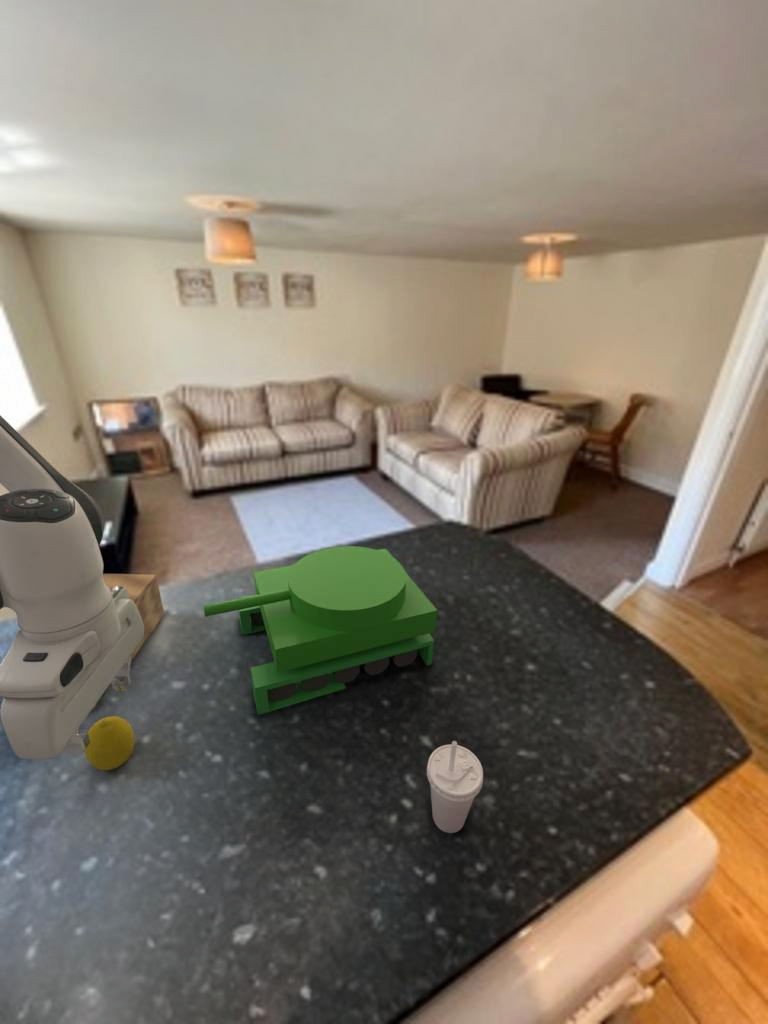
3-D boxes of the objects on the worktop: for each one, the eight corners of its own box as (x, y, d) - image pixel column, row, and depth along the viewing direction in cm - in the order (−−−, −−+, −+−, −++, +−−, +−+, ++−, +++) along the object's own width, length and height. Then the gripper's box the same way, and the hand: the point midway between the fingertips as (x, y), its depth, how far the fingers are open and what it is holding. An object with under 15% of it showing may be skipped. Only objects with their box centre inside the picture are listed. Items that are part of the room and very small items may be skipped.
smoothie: (414, 803, 57) (421, 725, 51) (459, 789, 59) (471, 712, 53) (434, 857, 51) (444, 776, 46) (483, 840, 53) (500, 760, 47)
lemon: (112, 790, 57) (97, 747, 54) (83, 772, 59) (67, 730, 56) (149, 755, 62) (137, 713, 58) (121, 739, 64) (108, 698, 60)
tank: (211, 629, 86) (199, 556, 79) (379, 593, 98) (382, 527, 92) (221, 732, 65) (206, 644, 59) (432, 669, 78) (440, 591, 71)
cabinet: (129, 670, 76) (116, 622, 72) (56, 669, 76) (39, 621, 71) (165, 617, 89) (156, 574, 84) (103, 616, 88) (91, 573, 84)
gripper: (98, 578, 60) (121, 657, 66) (-28, 698, 42) (19, 794, 47) (145, 578, 60) (163, 657, 66) (41, 698, 42) (79, 794, 48)
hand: (102, 715), depth 57 cm, fingers open, 8 cm apart
